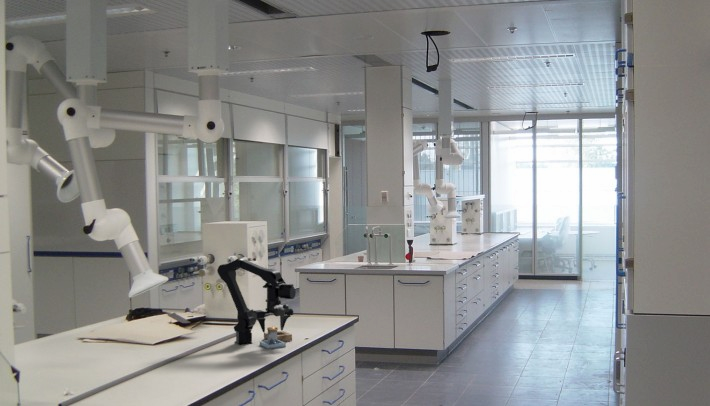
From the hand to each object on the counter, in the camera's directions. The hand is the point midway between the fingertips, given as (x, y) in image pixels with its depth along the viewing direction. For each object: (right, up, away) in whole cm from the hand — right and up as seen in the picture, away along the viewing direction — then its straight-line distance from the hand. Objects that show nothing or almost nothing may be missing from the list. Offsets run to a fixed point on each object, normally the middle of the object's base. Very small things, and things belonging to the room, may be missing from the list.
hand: (272, 331), depth 339 cm
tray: (0, -7, 0) cm, 7 cm away
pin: (0, -6, 0) cm, 6 cm away
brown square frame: (+1, -7, +13) cm, 15 cm away
